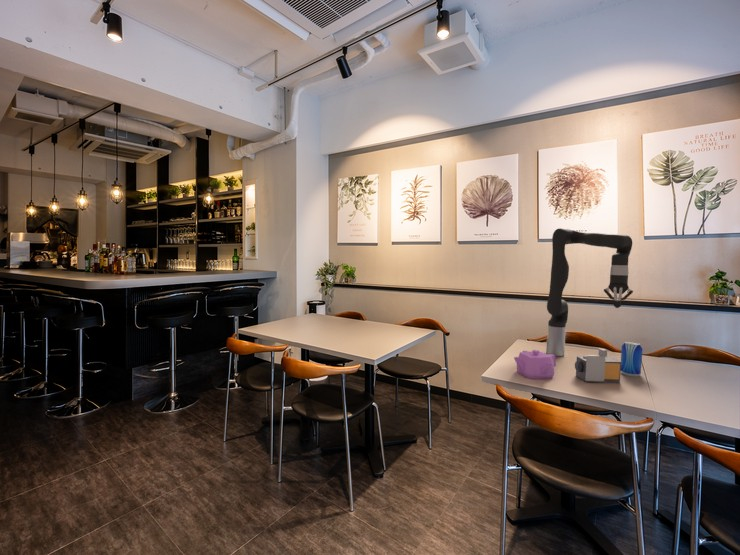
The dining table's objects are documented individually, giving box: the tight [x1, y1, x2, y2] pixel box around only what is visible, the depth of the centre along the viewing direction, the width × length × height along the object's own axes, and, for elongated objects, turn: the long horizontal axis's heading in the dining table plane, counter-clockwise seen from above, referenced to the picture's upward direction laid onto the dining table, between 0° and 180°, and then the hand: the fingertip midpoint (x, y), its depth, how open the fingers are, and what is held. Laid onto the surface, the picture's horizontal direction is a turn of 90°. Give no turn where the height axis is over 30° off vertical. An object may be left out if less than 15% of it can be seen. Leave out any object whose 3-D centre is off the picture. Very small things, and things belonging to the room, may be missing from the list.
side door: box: [585, 348, 608, 381], centre depth 164 cm, size 8×3×15 cm, turn 86°
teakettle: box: [513, 349, 556, 380], centre depth 175 cm, size 17×17×12 cm
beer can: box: [620, 341, 643, 378], centre depth 177 cm, size 8×8×16 cm
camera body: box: [574, 355, 622, 384], centre depth 169 cm, size 18×8×11 cm, turn 86°
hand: (617, 307), depth 181 cm, fingers closed
